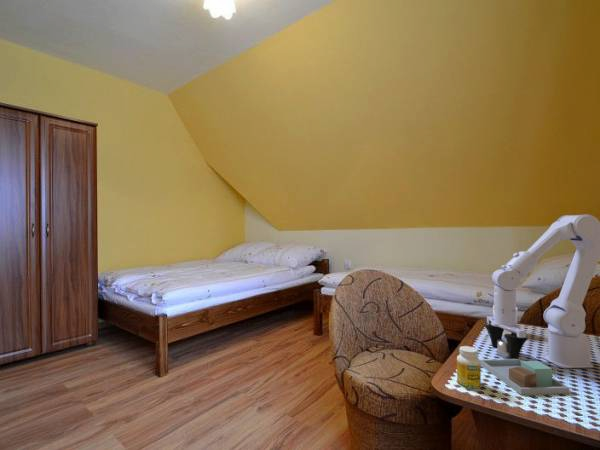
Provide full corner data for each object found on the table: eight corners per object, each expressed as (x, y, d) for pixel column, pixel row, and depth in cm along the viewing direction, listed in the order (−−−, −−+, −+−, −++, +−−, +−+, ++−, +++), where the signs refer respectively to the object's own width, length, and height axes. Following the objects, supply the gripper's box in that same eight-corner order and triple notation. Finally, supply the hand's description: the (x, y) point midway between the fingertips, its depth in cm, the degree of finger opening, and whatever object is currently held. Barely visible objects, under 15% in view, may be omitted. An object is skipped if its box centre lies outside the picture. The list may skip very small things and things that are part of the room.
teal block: (537, 377, 83) (537, 360, 82) (552, 386, 78) (552, 368, 78) (521, 378, 82) (521, 361, 82) (534, 387, 78) (534, 369, 78)
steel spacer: (506, 355, 98) (506, 339, 98) (516, 360, 94) (516, 344, 94) (494, 355, 98) (494, 339, 98) (503, 360, 94) (503, 344, 94)
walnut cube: (520, 381, 80) (520, 366, 80) (536, 389, 77) (536, 373, 77) (508, 384, 79) (508, 368, 79) (524, 392, 75) (524, 375, 75)
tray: (519, 365, 91) (519, 358, 91) (569, 396, 75) (569, 387, 75) (479, 366, 90) (479, 359, 90) (520, 397, 74) (520, 388, 74)
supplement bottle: (469, 380, 83) (469, 344, 83) (486, 390, 77) (485, 352, 77) (452, 382, 81) (452, 345, 81) (467, 393, 76) (467, 354, 76)
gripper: (477, 303, 103) (477, 343, 103) (508, 315, 89) (508, 363, 89) (498, 302, 104) (498, 343, 104) (532, 315, 89) (533, 363, 89)
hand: (504, 352), depth 96 cm, fingers open, 7 cm apart
